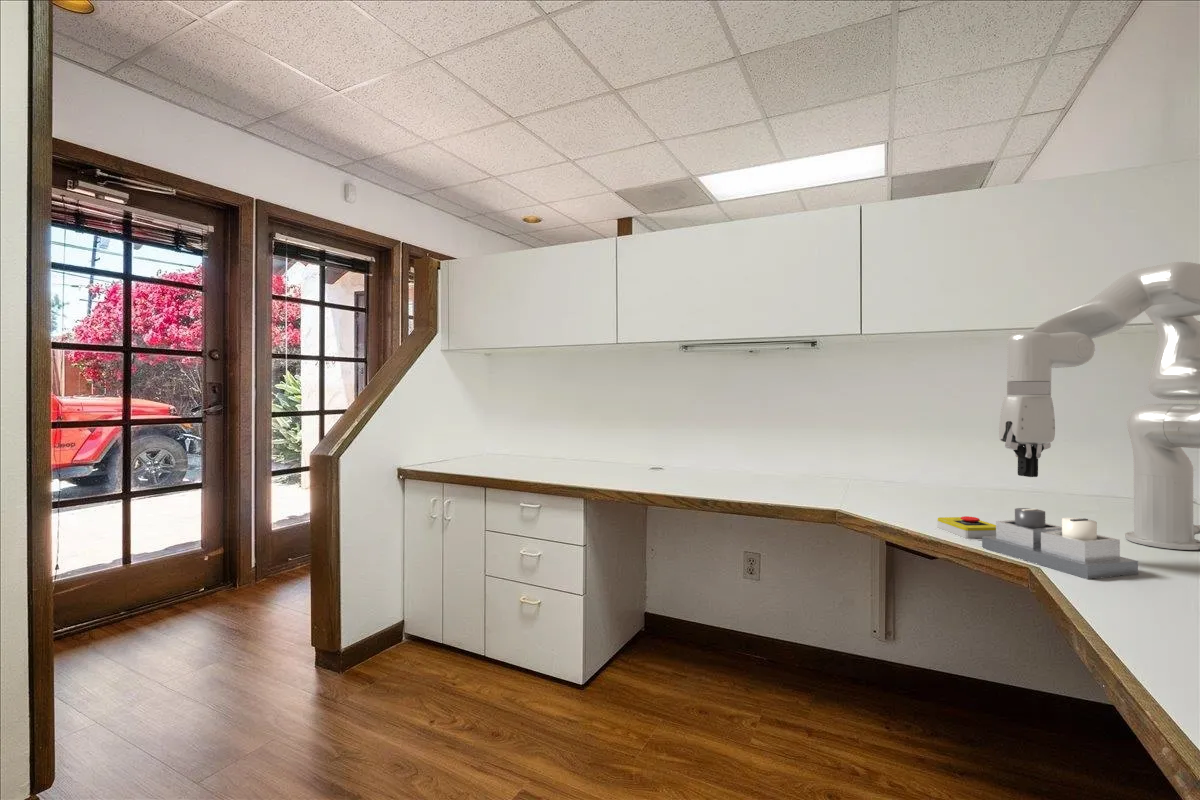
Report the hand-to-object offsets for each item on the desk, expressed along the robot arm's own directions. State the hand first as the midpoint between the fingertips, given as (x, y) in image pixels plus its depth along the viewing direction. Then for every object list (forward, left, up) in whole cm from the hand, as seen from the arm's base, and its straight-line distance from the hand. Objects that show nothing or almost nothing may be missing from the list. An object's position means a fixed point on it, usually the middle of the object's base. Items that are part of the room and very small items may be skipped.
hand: (1027, 476), depth 119 cm
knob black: (-1, 0, -13) cm, 13 cm away
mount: (-1, +5, -17) cm, 17 cm away
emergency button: (-3, -18, -17) cm, 25 cm away
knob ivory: (-1, +10, -13) cm, 17 cm away
